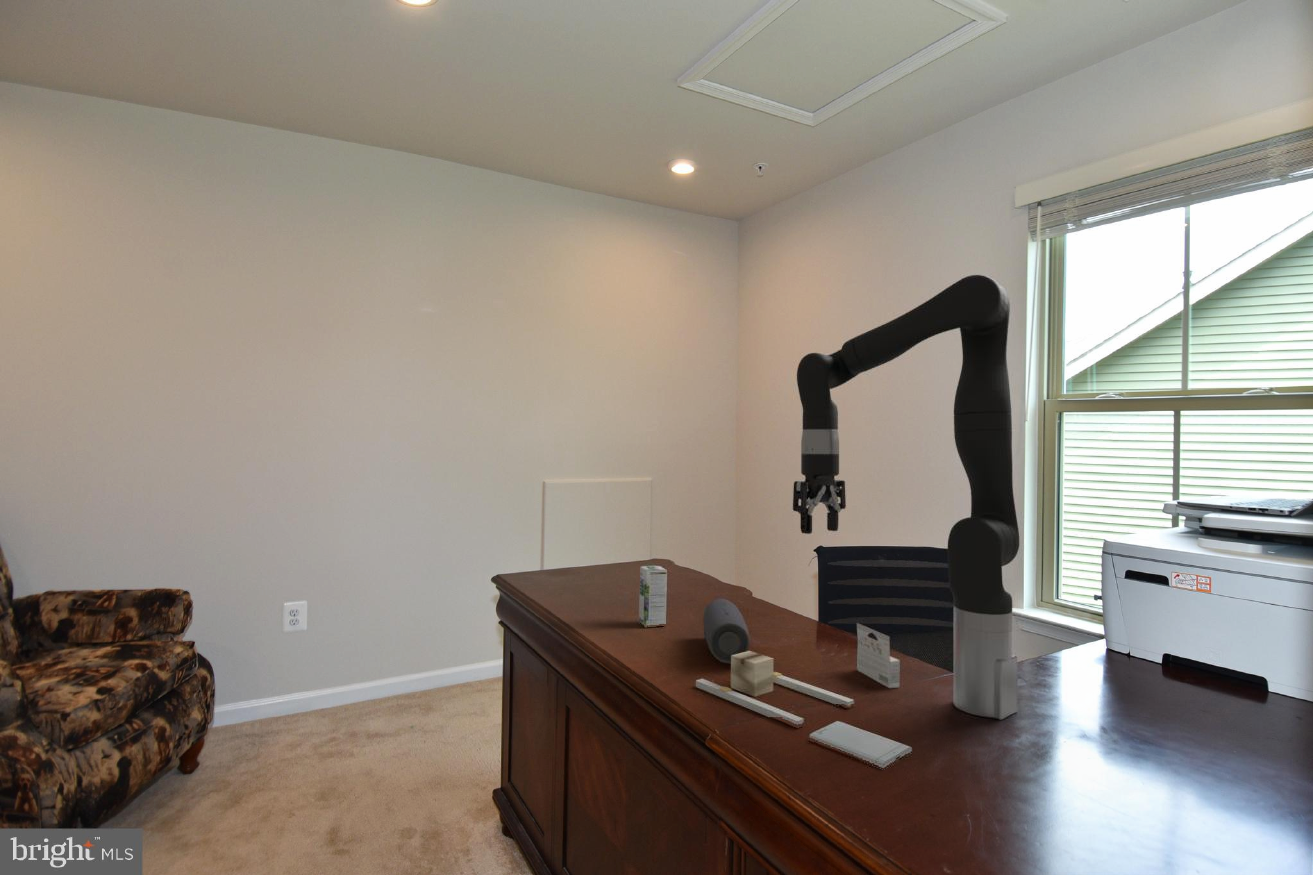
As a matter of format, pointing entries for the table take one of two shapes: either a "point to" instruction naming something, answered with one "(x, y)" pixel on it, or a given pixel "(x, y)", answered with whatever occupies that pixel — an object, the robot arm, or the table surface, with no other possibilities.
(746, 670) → the block
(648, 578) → the syrup box
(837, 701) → the slot rails
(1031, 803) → the table surface
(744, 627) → the bluetooth speaker
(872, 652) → the ink cartridge box
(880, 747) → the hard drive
